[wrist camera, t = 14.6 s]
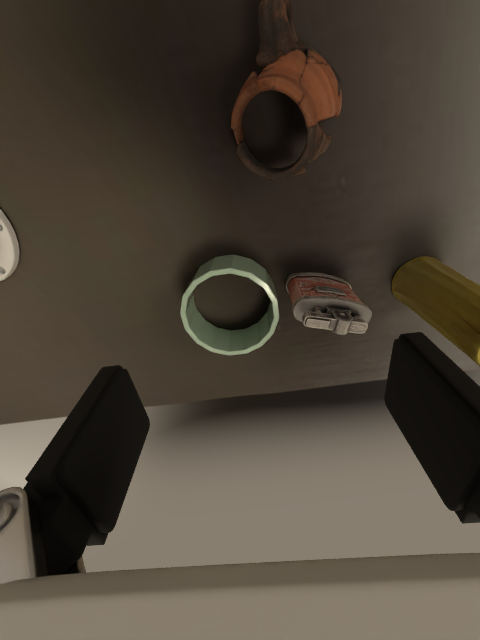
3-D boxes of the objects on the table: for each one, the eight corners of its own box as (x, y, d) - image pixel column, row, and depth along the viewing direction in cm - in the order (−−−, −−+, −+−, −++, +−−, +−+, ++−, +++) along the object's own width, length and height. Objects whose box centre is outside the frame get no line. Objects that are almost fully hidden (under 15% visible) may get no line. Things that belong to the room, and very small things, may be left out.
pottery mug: (352, 139, 27) (337, 178, 23) (266, 162, 32) (240, 198, 27) (338, -49, 19) (311, -48, 15) (226, 20, 24) (180, 37, 19)
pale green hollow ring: (200, 337, 39) (194, 359, 35) (179, 262, 33) (168, 277, 29) (278, 328, 38) (282, 349, 33) (270, 248, 32) (273, 261, 28)
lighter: (352, 277, 34) (388, 317, 25) (343, 301, 35) (374, 346, 27) (288, 269, 33) (302, 306, 25) (282, 294, 35) (293, 336, 26)
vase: (429, 305, 35) (526, 381, 23) (383, 299, 35) (455, 373, 23) (453, 259, 32) (580, 318, 20) (402, 252, 32) (499, 308, 20)
